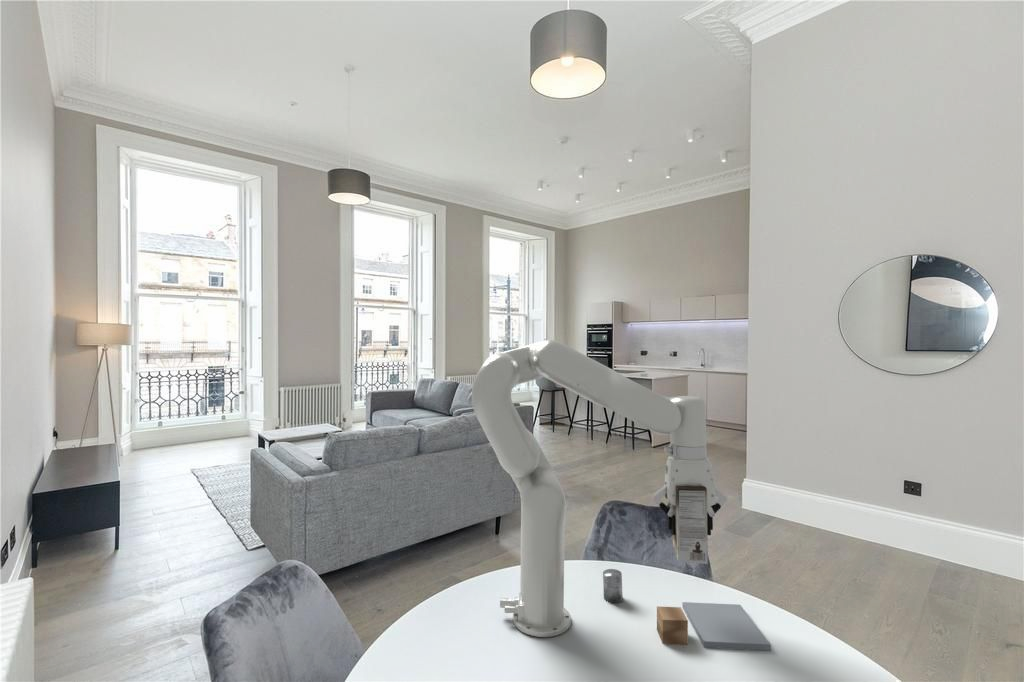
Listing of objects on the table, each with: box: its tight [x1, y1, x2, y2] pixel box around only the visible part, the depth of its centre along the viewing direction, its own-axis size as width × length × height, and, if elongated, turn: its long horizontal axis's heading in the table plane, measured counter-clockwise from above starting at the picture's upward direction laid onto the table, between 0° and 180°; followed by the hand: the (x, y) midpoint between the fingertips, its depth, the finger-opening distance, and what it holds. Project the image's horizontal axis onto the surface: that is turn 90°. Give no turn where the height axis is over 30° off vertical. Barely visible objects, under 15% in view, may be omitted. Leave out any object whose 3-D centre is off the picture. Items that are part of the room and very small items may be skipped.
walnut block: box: [656, 606, 689, 646], centre depth 100 cm, size 5×5×5 cm
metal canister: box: [602, 568, 623, 604], centre depth 116 cm, size 4×4×6 cm
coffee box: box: [672, 486, 709, 565], centre depth 107 cm, size 9×6×16 cm
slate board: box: [682, 601, 772, 651], centre depth 104 cm, size 13×15×1 cm
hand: (689, 532), depth 107 cm, fingers closed on coffee box, 6 cm apart
